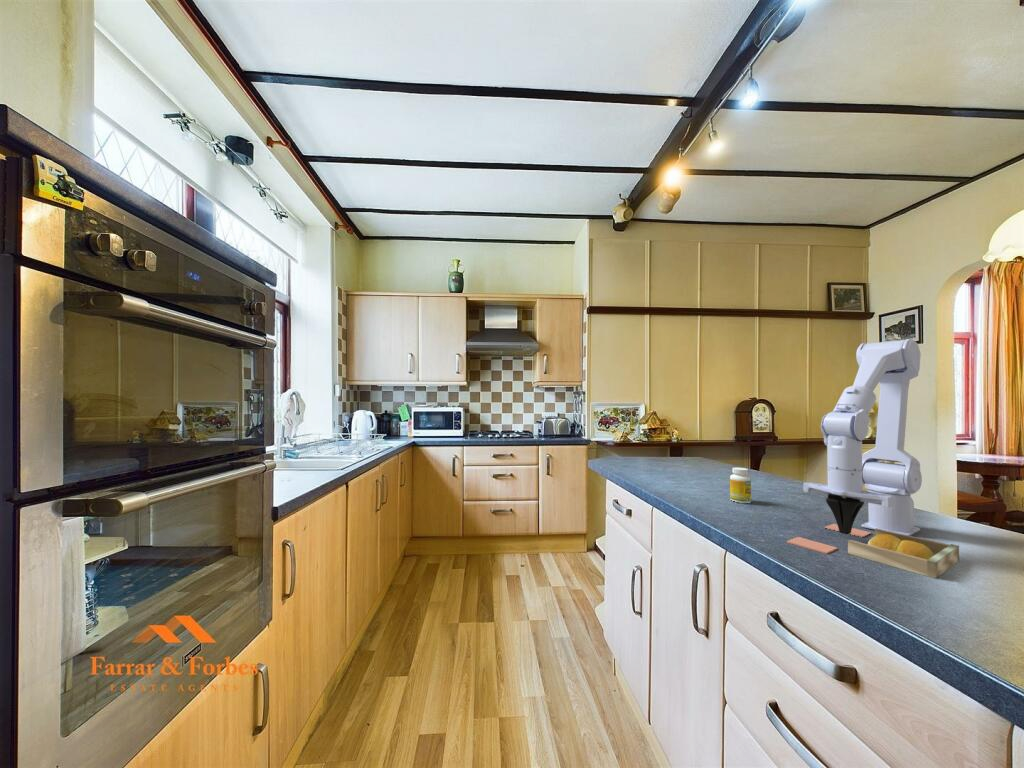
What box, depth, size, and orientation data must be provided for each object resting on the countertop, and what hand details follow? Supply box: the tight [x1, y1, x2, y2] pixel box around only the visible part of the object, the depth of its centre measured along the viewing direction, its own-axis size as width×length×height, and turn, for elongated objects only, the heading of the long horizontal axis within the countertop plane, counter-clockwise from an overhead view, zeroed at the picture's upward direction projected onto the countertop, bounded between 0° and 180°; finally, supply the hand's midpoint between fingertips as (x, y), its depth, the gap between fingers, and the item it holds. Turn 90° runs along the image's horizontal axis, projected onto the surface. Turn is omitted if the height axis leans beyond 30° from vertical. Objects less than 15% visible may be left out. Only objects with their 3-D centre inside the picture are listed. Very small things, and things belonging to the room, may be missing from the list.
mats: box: [786, 523, 872, 555], centre depth 86 cm, size 23×7×1 cm, turn 121°
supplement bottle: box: [729, 467, 752, 504], centre depth 115 cm, size 5×5×10 cm
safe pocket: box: [847, 528, 960, 579], centre depth 76 cm, size 15×12×3 cm
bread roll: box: [867, 534, 934, 560], centre depth 76 cm, size 8×9×4 cm
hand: (845, 532), depth 84 cm, fingers closed
